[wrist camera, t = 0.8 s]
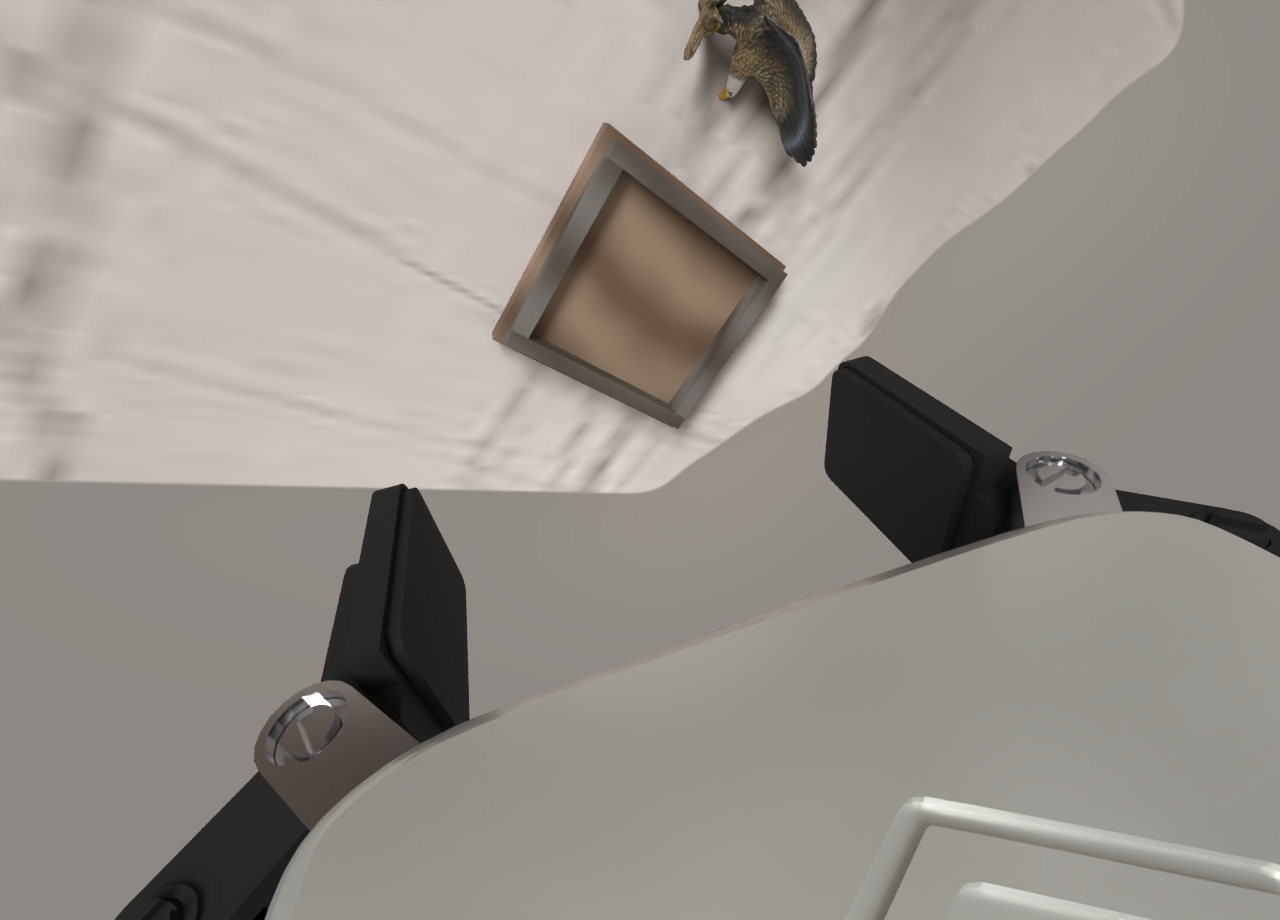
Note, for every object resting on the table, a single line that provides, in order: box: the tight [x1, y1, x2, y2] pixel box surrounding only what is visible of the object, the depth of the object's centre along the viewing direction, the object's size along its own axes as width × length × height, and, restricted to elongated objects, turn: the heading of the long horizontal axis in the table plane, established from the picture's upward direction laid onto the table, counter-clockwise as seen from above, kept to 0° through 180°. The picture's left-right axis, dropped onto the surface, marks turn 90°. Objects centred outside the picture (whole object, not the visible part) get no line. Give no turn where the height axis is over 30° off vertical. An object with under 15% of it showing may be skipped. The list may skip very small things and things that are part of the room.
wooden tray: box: [492, 123, 787, 429], centre depth 35 cm, size 14×15×3 cm
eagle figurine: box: [684, 0, 817, 167], centre depth 28 cm, size 8×7×9 cm
